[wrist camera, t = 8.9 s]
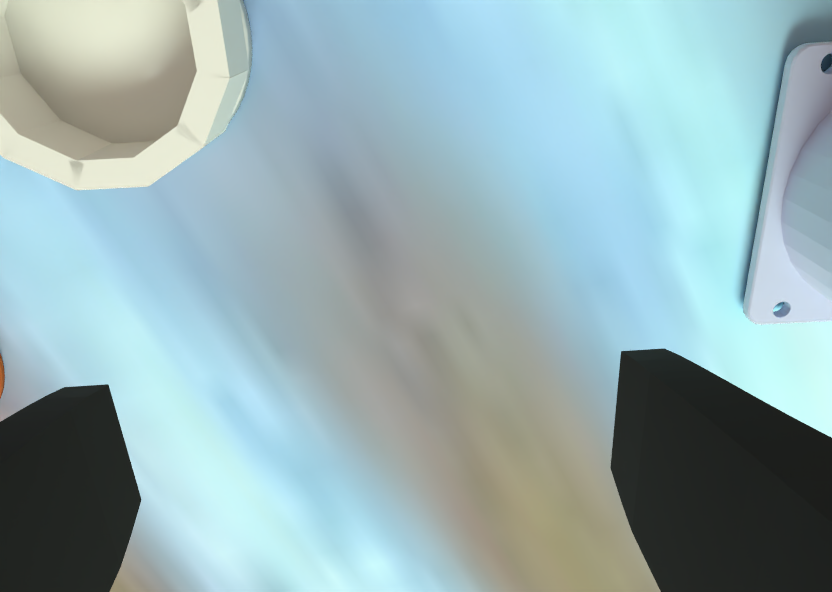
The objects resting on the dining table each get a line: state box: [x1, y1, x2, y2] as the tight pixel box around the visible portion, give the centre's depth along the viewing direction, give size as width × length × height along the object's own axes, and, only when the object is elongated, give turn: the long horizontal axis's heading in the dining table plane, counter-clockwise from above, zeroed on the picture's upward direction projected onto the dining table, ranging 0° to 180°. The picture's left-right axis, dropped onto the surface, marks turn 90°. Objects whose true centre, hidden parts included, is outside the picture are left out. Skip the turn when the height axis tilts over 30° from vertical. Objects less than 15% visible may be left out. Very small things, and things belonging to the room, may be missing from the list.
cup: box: [0, 0, 252, 190], centre depth 16 cm, size 6×6×3 cm
